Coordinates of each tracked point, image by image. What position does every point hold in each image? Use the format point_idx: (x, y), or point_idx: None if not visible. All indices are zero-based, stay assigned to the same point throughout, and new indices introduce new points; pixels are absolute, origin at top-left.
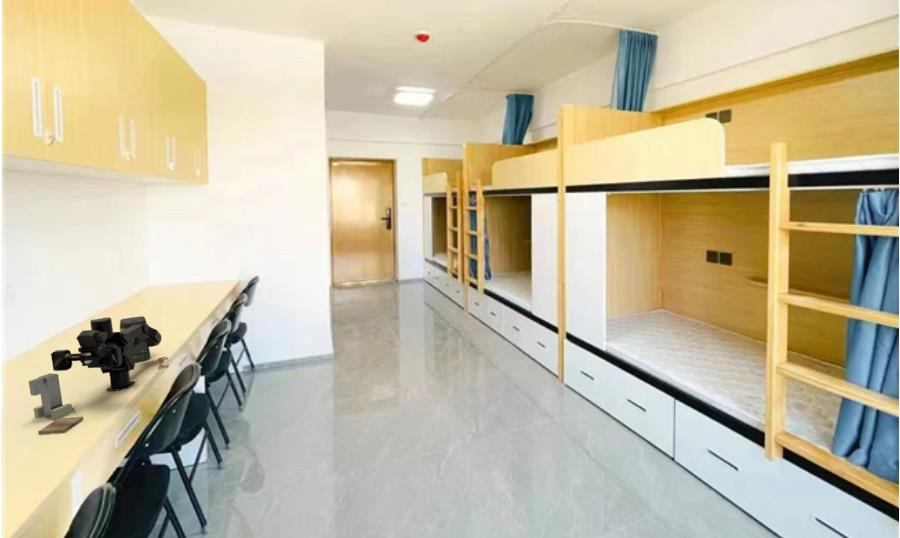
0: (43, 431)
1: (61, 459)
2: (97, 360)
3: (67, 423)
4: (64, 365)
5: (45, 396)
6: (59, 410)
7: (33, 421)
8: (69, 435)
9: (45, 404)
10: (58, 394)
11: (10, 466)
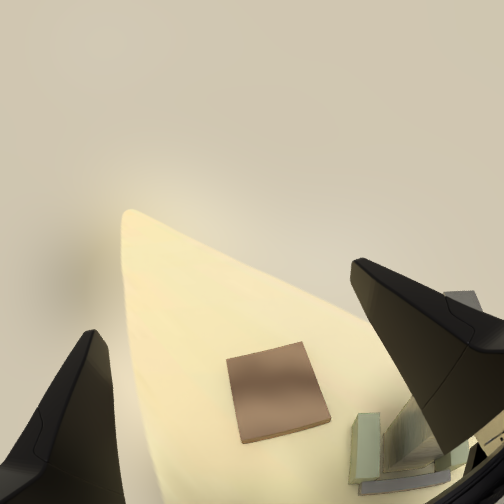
0: (287, 346)
1: (146, 279)
2: (49, 407)
3: (253, 391)
4: (442, 400)
5: None
6: (356, 432)
7: None
8: (202, 354)
9: None
10: (411, 440)
11: (224, 255)
